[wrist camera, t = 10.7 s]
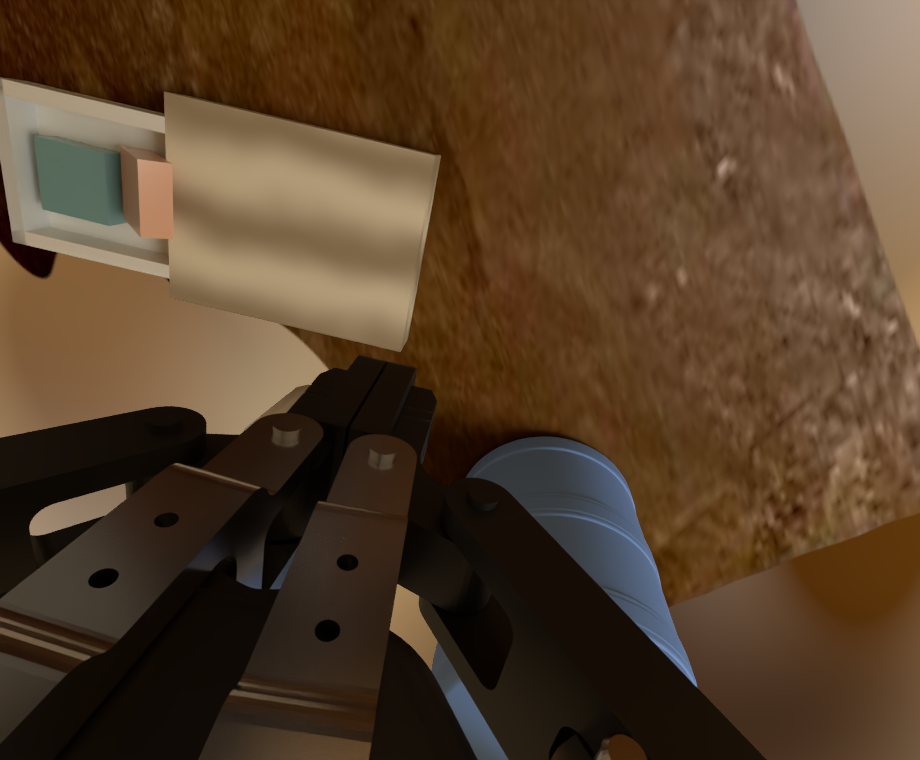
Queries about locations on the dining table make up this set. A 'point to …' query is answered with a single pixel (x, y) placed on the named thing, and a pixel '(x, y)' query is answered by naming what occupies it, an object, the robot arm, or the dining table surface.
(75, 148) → the teal tile
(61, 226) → the box
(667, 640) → the water jug
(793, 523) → the dining table surface
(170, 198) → the terracotta tile
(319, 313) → the birch board
